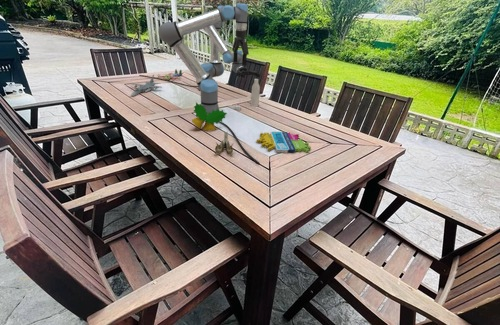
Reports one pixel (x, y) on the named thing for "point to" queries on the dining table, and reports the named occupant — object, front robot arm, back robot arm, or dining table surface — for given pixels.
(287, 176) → the dining table surface
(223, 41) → the back robot arm
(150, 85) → the airplane
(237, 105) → the cap
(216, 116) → the ornament
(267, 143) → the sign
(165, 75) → the toy
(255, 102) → the bottle
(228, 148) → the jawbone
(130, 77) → the dining table surface
